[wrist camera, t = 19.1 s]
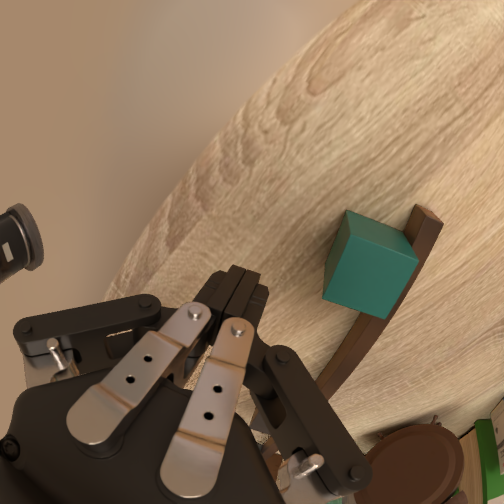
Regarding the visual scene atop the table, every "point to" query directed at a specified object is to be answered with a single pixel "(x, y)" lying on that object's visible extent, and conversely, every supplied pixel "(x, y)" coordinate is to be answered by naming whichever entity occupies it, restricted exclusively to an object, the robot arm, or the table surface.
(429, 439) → the alarm clock
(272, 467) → the end post
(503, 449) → the ink box
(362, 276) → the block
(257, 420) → the middle block
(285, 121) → the table surface
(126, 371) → the robot arm
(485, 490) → the hardback book
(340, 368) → the rail
